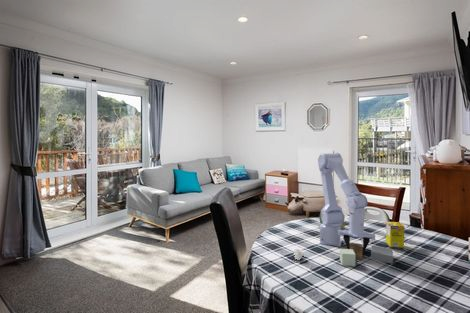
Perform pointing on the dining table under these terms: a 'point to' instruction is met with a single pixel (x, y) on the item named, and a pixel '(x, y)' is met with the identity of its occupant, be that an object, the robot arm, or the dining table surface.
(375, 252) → the pedestal block
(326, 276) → the dining table surface
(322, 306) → the dining table surface
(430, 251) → the dining table surface
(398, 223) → the supplement box
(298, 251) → the white lumpy piece
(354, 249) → the walnut cube
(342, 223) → the vegetable
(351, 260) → the sage cube
